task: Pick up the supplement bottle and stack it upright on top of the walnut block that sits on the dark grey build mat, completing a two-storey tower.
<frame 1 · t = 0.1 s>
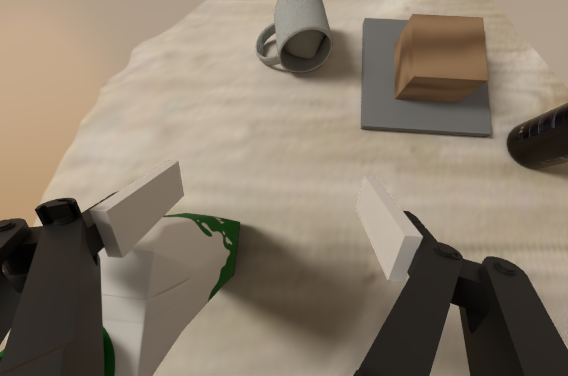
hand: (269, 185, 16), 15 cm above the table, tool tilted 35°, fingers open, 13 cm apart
supplement bottle: (526, 146, 32), on the table
walnut block: (425, 73, 33), point 1 cm above the table, touching build mat
build mat: (421, 77, 34), on the table
ceramic mug: (291, 54, 35), on the table
milk carton: (212, 244, 30), on the table
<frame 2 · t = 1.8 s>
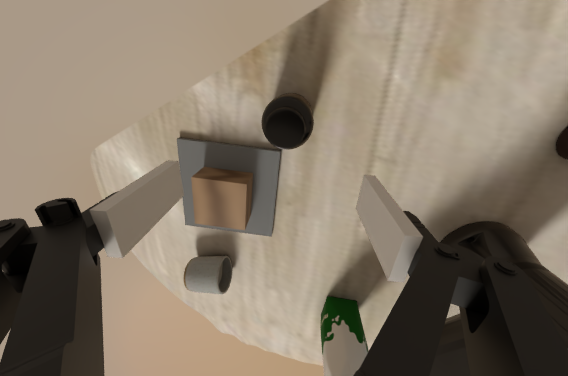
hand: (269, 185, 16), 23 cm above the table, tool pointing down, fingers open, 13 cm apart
supplement bottle: (290, 115, 36), on the table
walnut block: (228, 191, 42), point 1 cm above the table, touching build mat
build mat: (229, 189, 43), on the table
ceramic mug: (217, 265, 52), on the table
milk carton: (337, 306, 55), on the table
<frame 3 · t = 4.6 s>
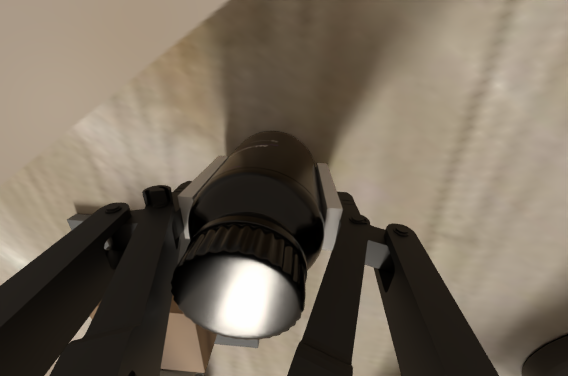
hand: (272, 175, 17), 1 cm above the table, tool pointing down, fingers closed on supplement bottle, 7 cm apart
supplement bottle: (273, 169, 19), on the table, touching gripper
walnut block: (177, 293, 24), point 1 cm above the table, touching build mat
build mat: (181, 286, 25), on the table
ceramic mug: (185, 375, 35), on the table
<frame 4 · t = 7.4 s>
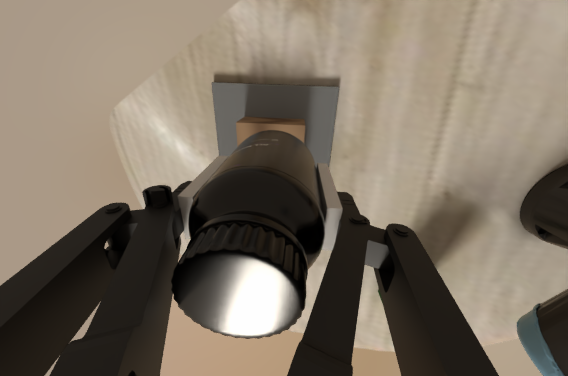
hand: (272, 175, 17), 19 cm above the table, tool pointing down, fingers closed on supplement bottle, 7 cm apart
supplement bottle: (273, 169, 19), point 18 cm above the table, touching gripper
walnut block: (273, 147, 35), point 1 cm above the table, touching build mat
build mat: (274, 145, 36), on the table
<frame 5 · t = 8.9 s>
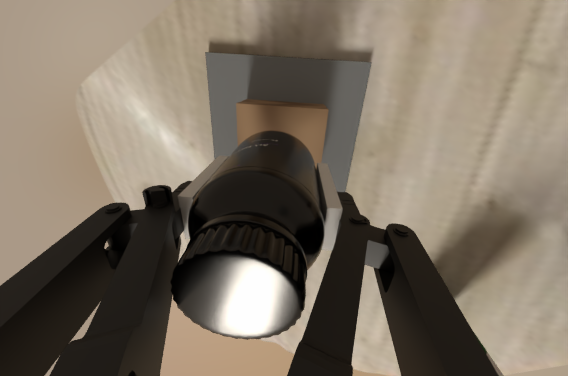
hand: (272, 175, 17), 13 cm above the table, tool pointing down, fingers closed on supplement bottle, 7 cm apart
supplement bottle: (273, 169, 19), point 12 cm above the table, touching gripper
walnut block: (282, 139, 28), point 1 cm above the table, touching build mat
build mat: (283, 137, 29), on the table
when the fingers open (8 cm above the table, at t = 10.1 s): supplement bottle stays where it is, resting on walnut block.
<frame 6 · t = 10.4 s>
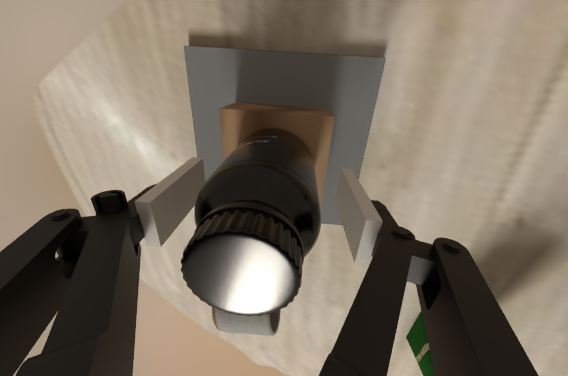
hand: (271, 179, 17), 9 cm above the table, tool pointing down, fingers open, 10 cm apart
supplement bottle: (273, 165, 19), point 6 cm above the table, touching walnut block
walnut block: (278, 150, 24), point 1 cm above the table, touching build mat, supplement bottle
build mat: (279, 147, 25), on the table
ceramic mug: (257, 285, 35), on the table
milk carton: (433, 326, 37), on the table
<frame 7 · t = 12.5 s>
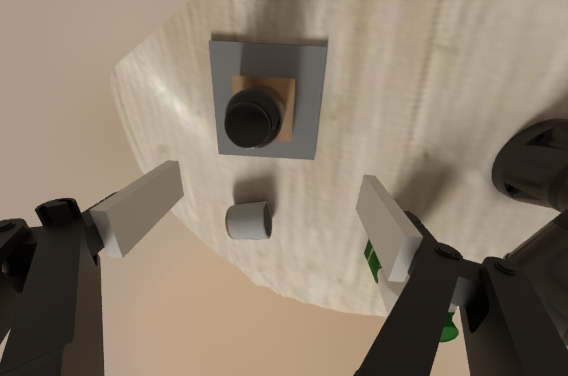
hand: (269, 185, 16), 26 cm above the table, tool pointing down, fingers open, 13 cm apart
supplement bottle: (262, 110, 33), point 6 cm above the table, touching walnut block
walnut block: (266, 106, 38), point 1 cm above the table, touching build mat, supplement bottle
build mat: (267, 105, 39), on the table
ceramic mug: (255, 215, 49), on the table
milk carton: (382, 243, 51), on the table
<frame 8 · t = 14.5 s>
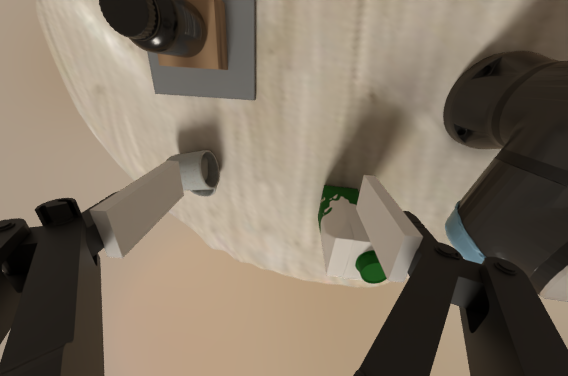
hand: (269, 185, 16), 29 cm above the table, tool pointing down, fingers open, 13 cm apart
supplement bottle: (184, 30, 31), point 6 cm above the table, touching walnut block
walnut block: (198, 36, 36), point 1 cm above the table, touching build mat, supplement bottle
build mat: (201, 37, 37), on the table
ceramic mug: (203, 170, 48), on the table
milk carton: (336, 200, 49), on the table
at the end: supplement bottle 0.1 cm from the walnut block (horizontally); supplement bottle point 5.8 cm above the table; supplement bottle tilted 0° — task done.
